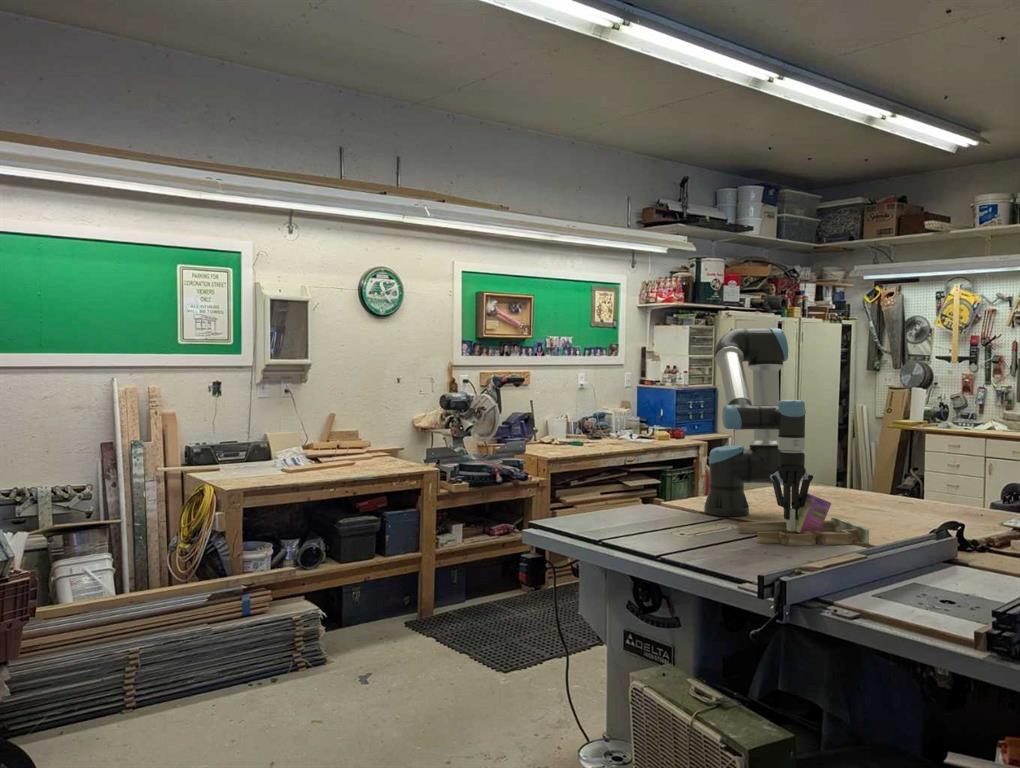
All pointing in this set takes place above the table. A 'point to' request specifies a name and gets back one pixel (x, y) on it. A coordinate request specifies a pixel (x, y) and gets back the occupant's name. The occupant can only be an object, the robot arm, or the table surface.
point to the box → (812, 514)
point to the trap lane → (806, 533)
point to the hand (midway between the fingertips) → (790, 530)
